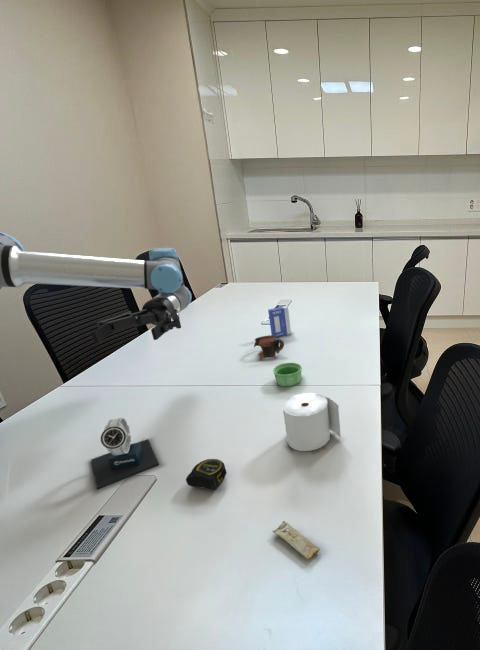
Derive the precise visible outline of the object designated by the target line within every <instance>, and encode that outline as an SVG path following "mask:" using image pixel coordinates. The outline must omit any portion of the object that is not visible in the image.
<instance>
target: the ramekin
mask: <svg viewBox="0 0 480 650" xmlns="http://www.w3.org/2000/svg"><path fill="white" fill-rule="evenodd" d="M302 369H303V367H302V365H301V364H300V363H297V362H283V363H280V364H278V365H276V366H274V367H273V369H272V372H273V375H274V379H275V383H276V384H277V385H278V386H281V387H292V386H295V385H298V384H299V383H300V382H301V380H302Z"/></svg>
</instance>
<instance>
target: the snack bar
mask: <svg viewBox="0 0 480 650" xmlns="http://www.w3.org/2000/svg"><path fill="white" fill-rule="evenodd" d="M272 533H273V534H275V535H278V537H280V538H281V539H283V540H284V541H285V542H287V544H289V545H290V546H291V547H292V548H293V549H295V550H296V551H297V552H298V553H299V554H301V555H302V556H303V557H304V558H306V559H310V558H312V557H313V556H314V555H316V554H317V553H318V552H319V551H321V548H320V547H318V546H317V545H316V544H314V543H313V542H312V541H310V539H308V538H307V537H305V536H304V535H302V534H301V533H300V532H299V531H298V530H296V529H295V528H294V527H292V526H291V524H289V523H288V522H287V521H285V520H283V521H282V522H281V524H280V525H278V527H277V528H276V529H274V530H272Z"/></svg>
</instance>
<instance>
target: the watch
mask: <svg viewBox="0 0 480 650" xmlns="http://www.w3.org/2000/svg"><path fill="white" fill-rule="evenodd" d="M131 442H132V435H131V430H130V426H129V424H128V422H127V420H126V418H125V417H117V418H112V419H110V420H108V421H107V423H106V425H105V426H104V428H103V431H102V432H101V434H100V443H101V445H102V446H103V447H104V448H105V449H106V451H107V452H108V453H110V455H109V458H108V461H109V464H110V466H111V469H112V470H116V469H121V468H126V467H130V466H135V465H139V464H140V461H141V458H142V455H143V451H142V448H141V445H140V443H138V442H134V443H131Z"/></svg>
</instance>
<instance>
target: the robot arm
mask: <svg viewBox="0 0 480 650" xmlns="http://www.w3.org/2000/svg"><path fill="white" fill-rule="evenodd" d="M148 255H149V256H148V257H149V260H142V259H129V258H118V257H116V258H115V257H105V256H91V255H81V254H80V255H77V254H66V253H53V252H40V251H27V250H26V249H25V247H24V246H23V244H22V243H21V242H20V241H19V240H18V239H17V238H15V237H14V236H12V235H11V234H9V233H5V232H3V231H0V290H1V289H2V288H21V287H22V286H24V285H26V284H33V285H36V284H37V285H58V286H74V287H75V286H79V287H97V288H98V287H99V288H120V289H121V288H123V289H141V290H142V289H143V290H145V289H146V290H157V291H158V294H157V295H155V296H154V297H152V298H151V299H149V300H147V301H146V302H144V304H143V305H142V308H141V310H139V311H136V312H133V313H132V311H126V312H124V313H121V314H119V315H115V316H113V317H110V318H107V319H103V320H100V321H98V322H96V324H97V327H98V328H96V329H95V330H93V331H91V335H92V338H93V342H94V344H99V343H101V342H102V341H104V340H105V339H107V337H110V336H111V335H112V334H113V332H115V331H119V330H123V329H126V328H130V327H141V326H143V325H150V324H151V325H152V326H154V327H152V328H151V329H150V331H151V335H152V338H153V339H152V340H153V341H158V340H159V339H160V338H162V336H163V335H164V334H166V333H167V332H169V331H171V330H173V329H174V328H176V329H178V330H179V329H181V328H182V324H181V320H180V314H179V313H181V312H182V311H184V310H185V309H187V307H188V306H189V304H190V303H191V302H192V299H193V298H192V296H193V295H192V293H191V291H190V290H189V288H188V287H187V286H185V282H184V276H183V272H182V269H181V264H180V259H179V256H178V252H177V250H176V249H175V248H173V247H159V248H153V249H150V250H149V252H148Z"/></svg>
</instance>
